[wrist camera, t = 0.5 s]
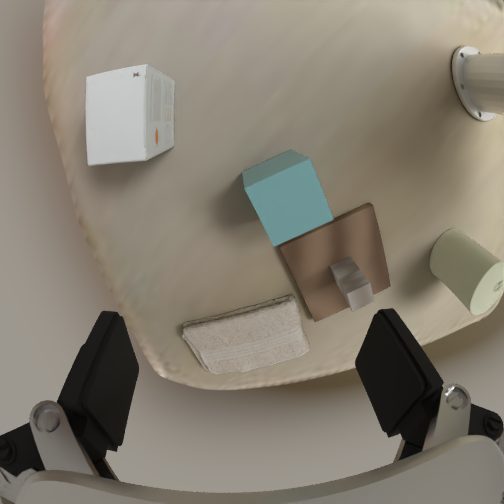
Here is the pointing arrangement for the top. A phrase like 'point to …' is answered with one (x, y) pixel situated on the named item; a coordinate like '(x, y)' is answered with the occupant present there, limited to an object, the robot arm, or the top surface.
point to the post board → (332, 250)
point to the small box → (128, 115)
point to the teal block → (287, 196)
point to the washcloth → (248, 337)
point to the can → (467, 270)
